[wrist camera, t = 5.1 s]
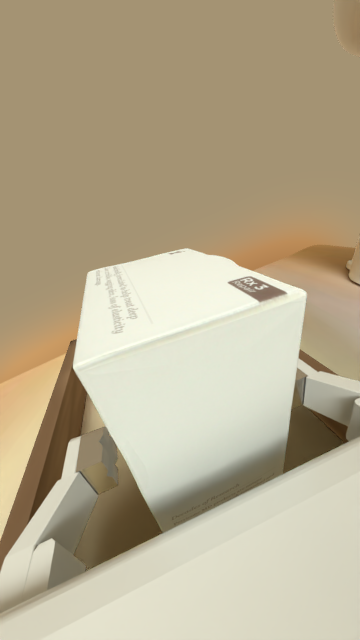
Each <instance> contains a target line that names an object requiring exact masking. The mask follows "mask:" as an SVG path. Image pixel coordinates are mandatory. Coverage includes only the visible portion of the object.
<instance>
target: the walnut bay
mask: <svg viewBox="0 0 360 640" xmlns="http://www.w3.org/2000/svg"><path fill="white" fill-rule="evenodd" d="M76 342H77V339H76V340H73V341H71V342H70V345H69V348H68V350H67V353H66V356H65V359H64V362H63V365H62V367H61V370H60V373H59V376H58V379H57V382H56V384H55V387H54V390H53V393H52V396H51V399H50V401H49V404H48V407H47V410H46V413H45V416H44V419H43V421H42V424H41V427H40V430H39V433H38V436H37V438H36V441H35V444H34V447H33V450H32V453H31V456H30V458H29V461H28V464H27V467H26V470H25V473H24V475H23V478H22V481H21V484H20V487H19V490H18V492H17V495H16V498H15V501H14V504H13V507H12V510H11V512H10V515H9V518H8V521H7V524H6V527H5V529H4V532H3V535H2V538H1V541H0V572H1V568H2V565H3V562H4V559H5V557H6V556H7V554H8V553H9V551H10V550H11V548H12V547H13V545H14V544H15V542H16V541H17V540H18V538H19V537H20V535H21V534H22V532H23V531H24V529H25V528H26V526H27V525H28V523H29V522H30V520H31V519H32V517H33V516H34V515H35V513H36V512H37V510H38V509H39V507H40V506H41V504H42V503H43V501H44V500H45V498H46V497H47V495H48V494H49V492H50V491H51V490H52V488H53V487H54V485H55V484H56V482H57V481H58V480H60V479H61V477H62V472H63V467H64V462H65V457H66V452H67V447H68V443H69V441H70V440H71V439H73V438H76V437H78V436H80V432H81V426H82V419H83V413H84V406H85V400H86V393H87V391H86V389H85V388H84V386H83V384H82V383H81V381H80V379H79V378H78V376H77V375H76V373H75V371H74V369H73V361H74V355H75V348H76ZM298 358H299V359H300V360H302V361H303V362H305V363H306V364H307V365H309V366H310V367H312V368H313V369H314V370H316V371H317V372H320V371H322V372H326V373H330V374H333V375H337V374H336V373H334V372H333V371H331V370H330V369H328V368H327V367H325V366H324V365H322V364H321V363H319V362H318V361H316V360H315V359H313V358H312V357H310V356H309V355H307V354H306V353H304V352H303V351H302V350H299V357H298ZM337 376H339V375H337ZM307 408H308V407H307ZM309 409H310V408H309ZM310 410H311V411H312V412H313V413H314V414H315V415H316V416H317V417H318V418H319V419H320V420H321V421H322V422H323V423H324V424H325V425H326V426H328V427H329V428H330V429H331V430H332V431H333V432H334V433H335V434H336V435H337V436H338V437H339V438H340V439H341V440H342V441H343V442H344V443H347V442H349V441H348V440H347V439H346V432H347V429H348V426H346V425H344V424H342V423H340V422H337V421H335V420H333V419H331V418H329V417H327V416H325V415H322V414H320V413H318V412H316V411H314V410H312V409H310Z"/></svg>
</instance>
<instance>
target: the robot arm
mask: <svg viewBox="0 0 360 640" xmlns="http://www.w3.org/2000/svg"><path fill="white" fill-rule="evenodd" d="M333 20H334V29H335V32H336V36H337V39H338V41H339V43H340V44H341V46H342V47H343V48H344V49H345V50H346V51H347V52H348V53H350V54H352V55H355V56H357V57H360V0H334V6H333ZM346 268H347V269H349V270H350V272H349V278H350V279H351V280H352V281H354V282H356V283H358V284H360V235H359V238H358V242H357V245H356V249H355V252H354V256H353V259H352V260H349V261H348V262H347V265H346ZM301 405H303V406H305V407H308V408H310V409H312V410H314V411H316V412H318V413H320V414H322V415H325V416H327V417H329V418H331V419H333V420H335V421H337V422H340V423H342V424H344V425H346V426H348V429H347V432H346V439H347V440H348V441H349V442H347V443H345V444H343V445H341V446H339V447H337V448H335V449H333V450H331V451H329V452H327V453H325V454H323V455H321V456H319V457H317V458H314V459H312V460H310V461H308V462H306V463H304V464H302V465H300V466H298V467H296V468H294V469H292V470H290V471H288V472H286V473H284V474H282V475H280V476H278V477H276V478H274V479H272V480H270V481H268V482H266V483H264V484H262V485H260V486H258V487H256V488H254V489H252V490H249V491H247V492H245V493H243V494H241V495H239V496H237V497H235V498H233V499H231V500H229V501H227V502H225V503H223V504H221V505H219V506H217V507H215V508H213V509H211V510H209V511H207V512H205V513H203V514H201V515H199V516H197V517H195V518H193V519H191V520H189V521H187V522H185V523H182V524H180V525H178V526H176V527H174V528H172V529H170V530H168V531H166V532H164V533H162V534H160V535H158V536H156V537H154V538H152V539H150V540H148V541H146V542H144V543H142V544H140V545H138V546H136V547H134V548H132V549H130V550H128V551H126V552H124V553H122V554H120V555H118V556H116V557H114V558H112V559H109V560H107V561H105V562H103V563H101V564H99V565H97V566H95V567H93V568H91V569H89V570H87V571H86V565H85V564H84V563H83V562H82V561H80V560H79V559H78V558H76V557H75V556H74V553H75V550H76V548H77V546H78V543H79V541H80V539H81V536H82V534H83V531H84V529H85V527H86V524H87V522H88V520H89V517H90V515H91V513H92V510H93V508H94V505H95V503H96V501H97V498H98V495H99V494H101V493H103V492H105V491H107V490H109V489H112V488H114V487H116V486H118V469H117V467H116V465H115V463H116V461H117V459H118V458H117V448H116V444H115V442H114V440H113V438H112V437H110V436H109V431H108V430H107V428H106V427H103V428H100V429H97V430H94V431H92V432H89V433H86V434H83V435H81V436H78V437H76V438H73V439H71V440H70V441H69V443H68V447H67V452H66V457H65V462H64V467H63V472H62V477H61V479H60V480H58V481H57V482H56V484H55V485H54V487H53V488H52V490H51V491H50V492H49V494H48V495H47V497H46V498H45V500H44V501H43V503H42V504H41V506H40V507H39V509H38V510H37V512H36V513H35V515H34V516H33V517H32V519H31V520H30V522H29V523H28V525H27V526H26V528H25V529H24V531H23V532H22V534H21V535H20V537H19V538H18V540H17V541H16V542H15V544H14V545H13V547H12V548H11V550H10V551H9V553H8V554H7V556H6V557H5V559H4V562H3V565H2V568H1V572H0V640H360V381H357V380H353V379H349V378H345V377H341V376H337V375H333V374H330V373H326V372H322V371H320V372H317V371H316V370H314V369H313V368H312V367H310V366H309V365H307V364H306V363H305V362H303V361H302V360H300V359H299V358H298V364H297V372H296V379H295V386H294V393H293V400H292V406H291V409H294V408H296V407H299V406H301Z"/></svg>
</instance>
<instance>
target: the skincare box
mask: <svg viewBox="0 0 360 640" xmlns="http://www.w3.org/2000/svg"><path fill="white" fill-rule="evenodd" d="M306 300H307V293H306V292H305V291H304V290H302V289H300V288H297V287H294V286H291V285H289V284H286V283H283V282H280V281H278V280H275V279H273V278H270V277H267V276H265V275H262V274H260V273H257V272H254V271H251V270H248V269H245V268H242V267H240V266H238V265H237V264H235V263H234V262H233V261H232V260H230V259H227V258H225V257H221V256H216V255H206V254H204V253H201V252H198V251H194V250H191V249H187V248H186V249H181V250H177V251H173V252H168V253H164V254H160V255H155V256H152V257H148V258H144V259H140V260H136V261H132V262H128V263H123V264H119V265H114V266H109V267H104V268H100V269H97V270H93V271H90V272H89V273H88V275H87V280H86V286H85V292H84V298H83V305H82V310H81V317H80V324H79V330H78V337H77V342H76V348H75V355H74V361H73V369H74V371H75V373H76V375H77V376H78V378H79V379H80V381H81V383H82V384H83V386H84V388H85V389H86V391H87V393H88V394H89V396H90V398H91V400H92V402H93V404H94V406H95V407H96V409H97V411H98V413H99V415H100V417H101V418H102V420H103V422H104V424H105V426H106V428H107V430H108V431H109V433H110V435H111V437H112V438H113V440H114V442H115V443H116V445H117V447H118V448H119V450H120V452H121V454H122V455H123V457H124V459H125V461H126V463H127V465H128V467H129V469H130V471H131V473H132V475H133V477H134V479H135V481H136V483H137V485H138V488H139V490H140V492H141V494H142V496H143V497H144V499H145V501H146V503H147V505H148V507H149V509H150V511H151V513H152V514H153V516H154V518H155V519H156V521H157V523H158V525H159V527H160V529H161V531H162V533H164V532H166V531H168V530H170V529H172V528H174V527H176V526H178V525H180V524H182V523H185V522H187V521H189V520H191V519H193V518H195V517H197V516H199V515H201V514H203V513H205V512H207V511H209V510H211V509H213V508H215V507H217V506H219V505H221V504H223V503H225V502H227V501H229V500H231V499H233V498H235V497H237V496H239V495H241V494H243V493H245V492H247V491H249V490H252V489H254V488H256V487H258V486H260V485H262V484H264V483H266V482H268V481H270V480H272V479H274V478H276V477H278V476H280V475H282V474H283V469H284V461H285V453H286V447H287V440H288V432H289V424H290V415H291V406H292V400H293V393H294V386H295V379H296V372H297V364H298V357H299V350H300V343H301V335H302V328H303V321H304V314H305V307H306Z"/></svg>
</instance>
